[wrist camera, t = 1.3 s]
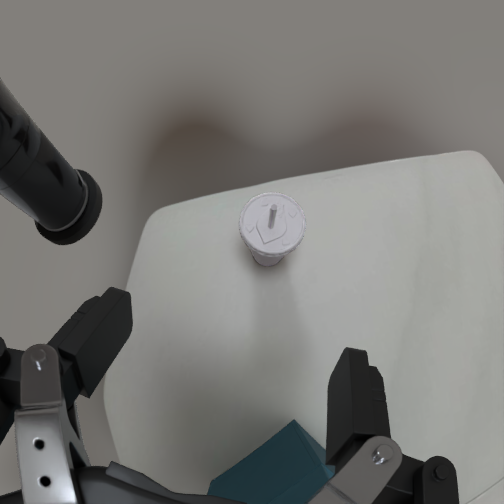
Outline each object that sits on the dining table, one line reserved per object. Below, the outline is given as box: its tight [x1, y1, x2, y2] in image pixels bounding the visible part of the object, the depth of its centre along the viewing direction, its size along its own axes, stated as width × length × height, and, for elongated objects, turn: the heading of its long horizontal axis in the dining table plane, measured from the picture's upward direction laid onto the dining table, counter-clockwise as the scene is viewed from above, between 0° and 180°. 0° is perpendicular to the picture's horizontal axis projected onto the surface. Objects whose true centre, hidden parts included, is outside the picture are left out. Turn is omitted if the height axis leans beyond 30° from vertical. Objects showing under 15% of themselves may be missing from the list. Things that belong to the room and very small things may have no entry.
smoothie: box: [239, 192, 306, 266], centre depth 33 cm, size 6×6×14 cm
